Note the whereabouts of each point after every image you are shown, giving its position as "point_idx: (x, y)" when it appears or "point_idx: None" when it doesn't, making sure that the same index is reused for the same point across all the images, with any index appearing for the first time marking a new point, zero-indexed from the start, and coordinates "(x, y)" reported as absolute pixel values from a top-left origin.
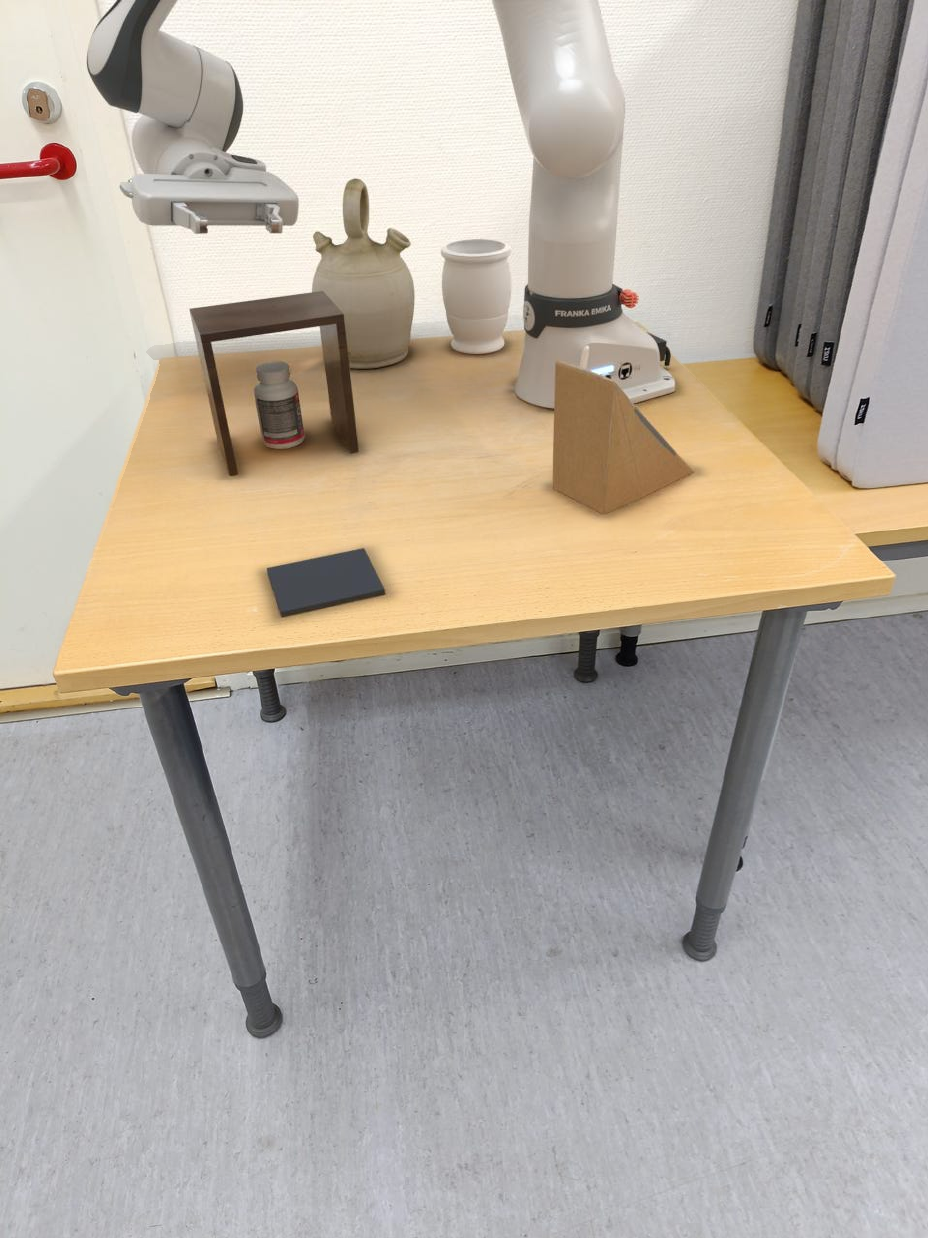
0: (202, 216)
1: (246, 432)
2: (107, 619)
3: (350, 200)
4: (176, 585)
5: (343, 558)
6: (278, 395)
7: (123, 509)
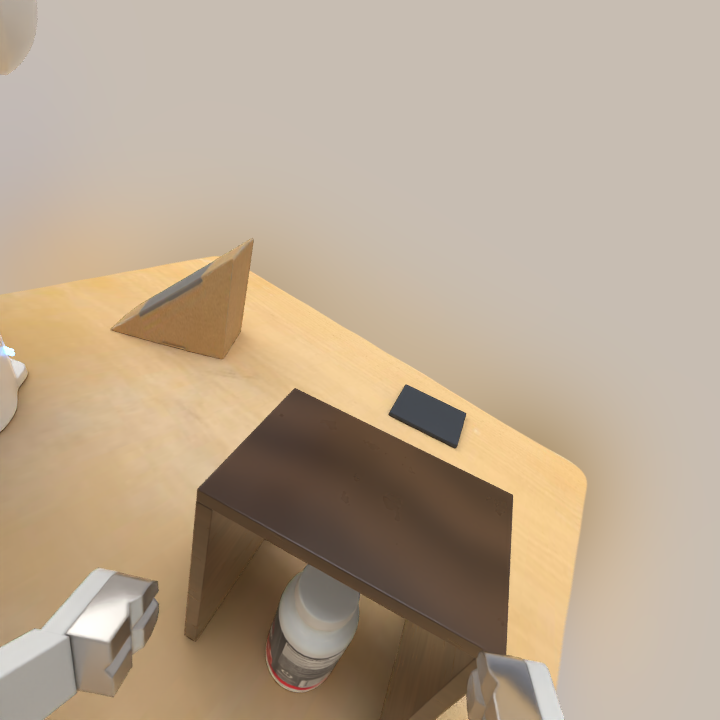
0: (504, 686)
1: None
2: (566, 492)
3: None
4: (517, 486)
5: (408, 415)
6: None
7: (555, 651)
